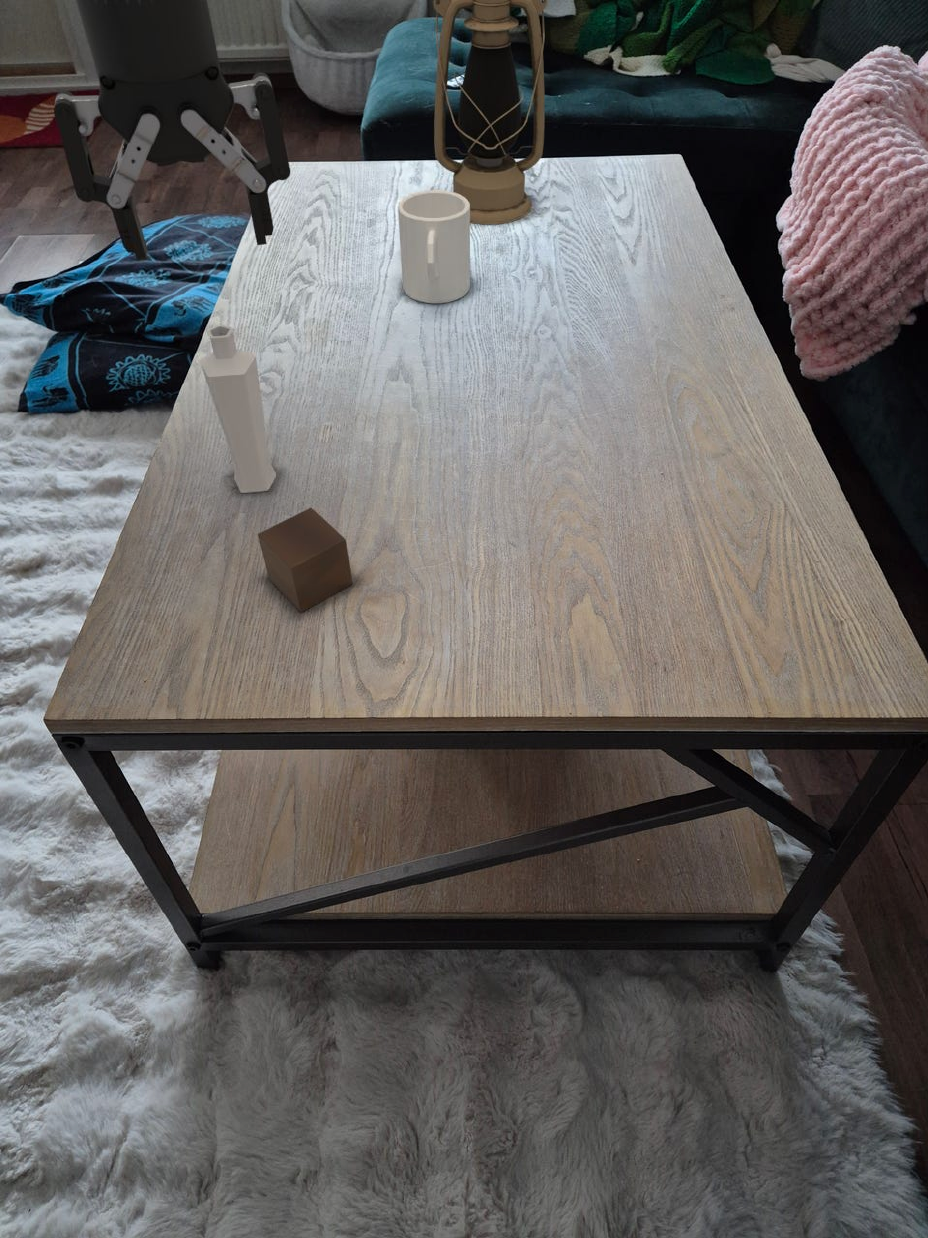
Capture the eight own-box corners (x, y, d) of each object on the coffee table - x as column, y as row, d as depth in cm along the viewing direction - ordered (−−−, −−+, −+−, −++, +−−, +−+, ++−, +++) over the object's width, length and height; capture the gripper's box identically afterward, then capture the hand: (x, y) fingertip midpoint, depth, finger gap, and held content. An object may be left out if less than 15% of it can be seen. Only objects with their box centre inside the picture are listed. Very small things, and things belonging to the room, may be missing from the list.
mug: (397, 320, 98) (391, 234, 91) (406, 271, 106) (401, 188, 99) (467, 321, 98) (467, 235, 90) (470, 272, 106) (470, 189, 98)
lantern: (436, 225, 115) (428, -55, 92) (435, 189, 123) (427, -76, 100) (544, 222, 115) (562, -57, 93) (536, 187, 123) (550, -78, 101)
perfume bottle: (287, 487, 78) (257, 337, 67) (240, 500, 77) (202, 350, 66) (272, 459, 81) (241, 311, 70) (227, 472, 80) (188, 323, 68)
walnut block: (300, 613, 68) (291, 568, 64) (268, 578, 70) (257, 533, 66) (352, 584, 70) (346, 539, 66) (319, 551, 72) (311, 506, 69)
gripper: (252, -47, 54) (293, 215, 66) (15, -31, 51) (102, 237, 64) (264, -19, 49) (306, 258, 61) (3, 0, 47) (100, 284, 59)
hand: (202, 247), depth 62 cm, fingers open, 8 cm apart
